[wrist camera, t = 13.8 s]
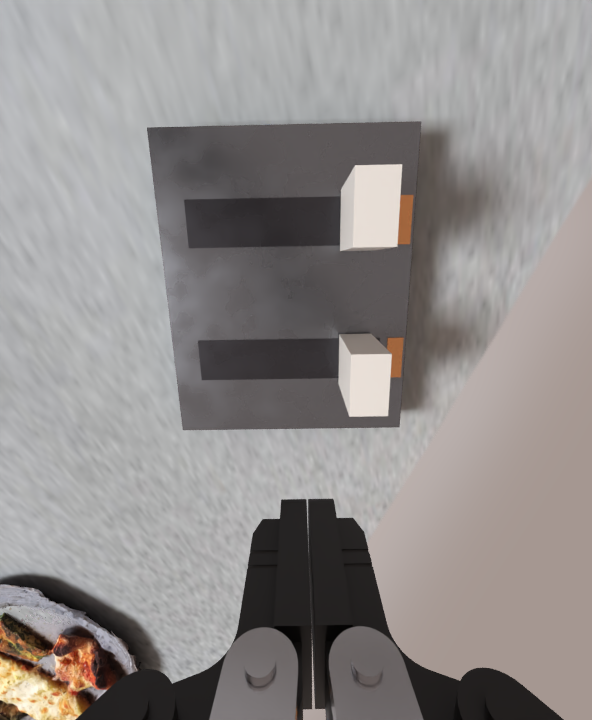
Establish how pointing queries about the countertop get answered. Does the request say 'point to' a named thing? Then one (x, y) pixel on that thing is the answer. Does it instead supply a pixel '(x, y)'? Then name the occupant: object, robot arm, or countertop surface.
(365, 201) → the on handle
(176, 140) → the breaker panel
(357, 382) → the handle
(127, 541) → the countertop surface
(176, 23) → the countertop surface
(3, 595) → the food plate
